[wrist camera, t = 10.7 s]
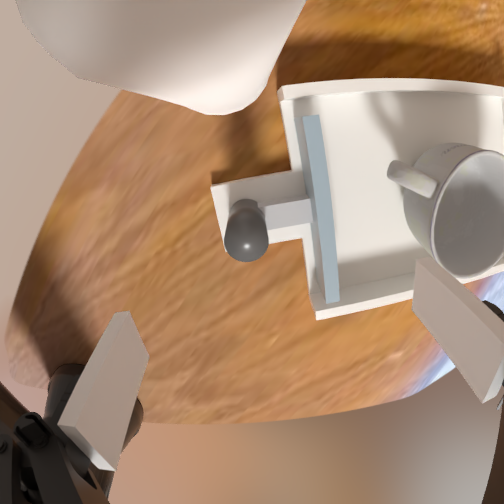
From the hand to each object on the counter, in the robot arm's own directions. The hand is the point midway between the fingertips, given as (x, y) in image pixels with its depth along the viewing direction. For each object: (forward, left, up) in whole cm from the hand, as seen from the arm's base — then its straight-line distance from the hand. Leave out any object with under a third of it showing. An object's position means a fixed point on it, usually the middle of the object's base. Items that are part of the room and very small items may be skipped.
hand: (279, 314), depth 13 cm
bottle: (-1, +13, -16) cm, 21 cm away
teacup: (+16, 0, -15) cm, 22 cm away
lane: (+13, 0, -16) cm, 20 cm away
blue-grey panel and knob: (+1, 0, -15) cm, 15 cm away
